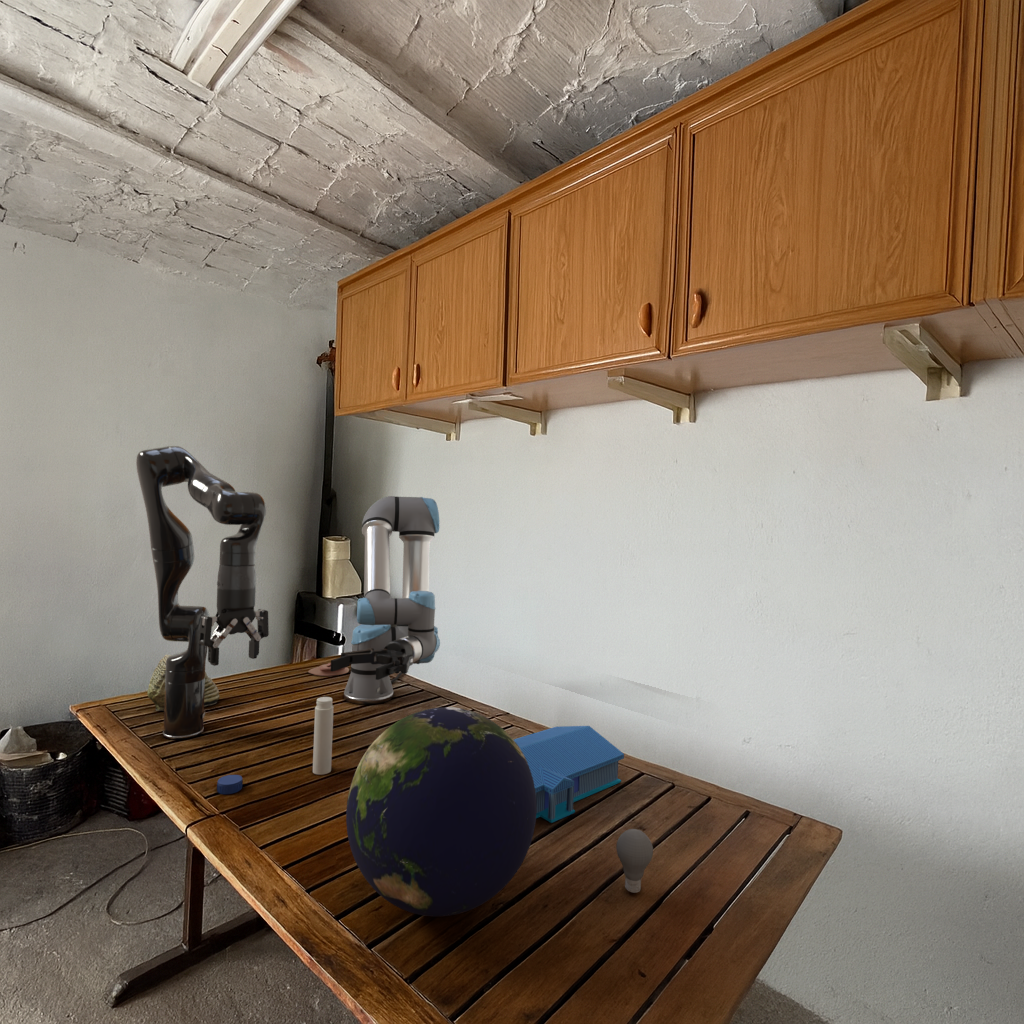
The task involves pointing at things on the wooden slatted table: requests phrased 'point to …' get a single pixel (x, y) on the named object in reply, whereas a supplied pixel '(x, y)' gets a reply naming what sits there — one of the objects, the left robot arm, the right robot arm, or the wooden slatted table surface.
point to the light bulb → (634, 857)
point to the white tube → (323, 736)
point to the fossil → (158, 687)
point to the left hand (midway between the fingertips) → (234, 661)
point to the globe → (441, 811)
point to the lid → (229, 784)
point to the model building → (568, 767)
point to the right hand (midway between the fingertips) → (353, 670)
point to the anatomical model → (327, 670)
